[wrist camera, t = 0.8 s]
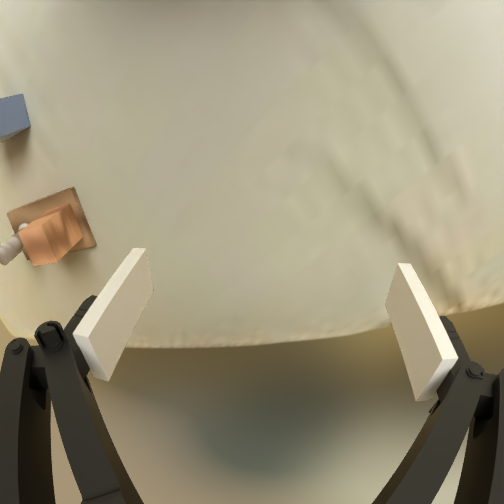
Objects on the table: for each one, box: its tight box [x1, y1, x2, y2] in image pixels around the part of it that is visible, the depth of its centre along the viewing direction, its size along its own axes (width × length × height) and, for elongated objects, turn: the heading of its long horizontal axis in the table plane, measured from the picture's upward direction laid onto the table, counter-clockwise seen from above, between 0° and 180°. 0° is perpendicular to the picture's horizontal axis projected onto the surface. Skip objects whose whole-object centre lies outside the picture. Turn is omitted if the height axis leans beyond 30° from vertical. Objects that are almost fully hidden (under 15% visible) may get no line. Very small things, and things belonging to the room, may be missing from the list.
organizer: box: [0, 187, 96, 266], centre depth 42 cm, size 10×18×9 cm, turn 102°
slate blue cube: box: [0, 94, 30, 142], centre depth 33 cm, size 6×6×8 cm
